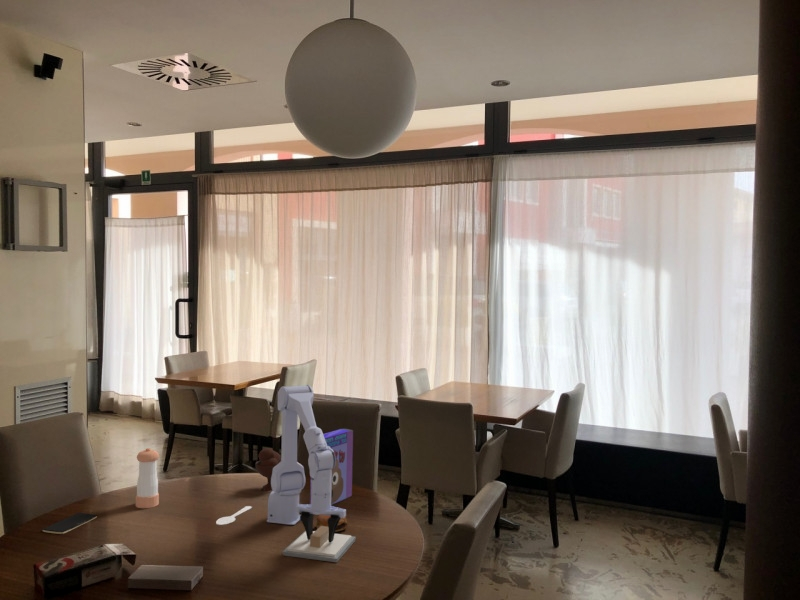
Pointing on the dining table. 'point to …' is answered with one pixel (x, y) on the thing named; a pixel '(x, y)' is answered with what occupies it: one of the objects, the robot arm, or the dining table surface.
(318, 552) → the lid
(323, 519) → the burger
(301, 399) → the robot arm
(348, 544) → the mat
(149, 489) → the pepper shaker
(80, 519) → the smartphone
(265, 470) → the ice cream bowl
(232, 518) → the spoon
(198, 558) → the dining table surface
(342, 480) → the cereal box
